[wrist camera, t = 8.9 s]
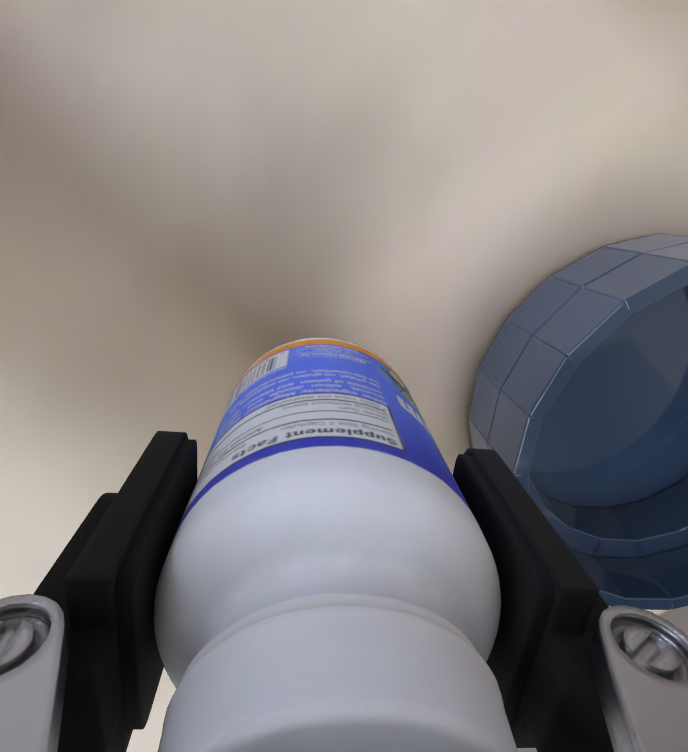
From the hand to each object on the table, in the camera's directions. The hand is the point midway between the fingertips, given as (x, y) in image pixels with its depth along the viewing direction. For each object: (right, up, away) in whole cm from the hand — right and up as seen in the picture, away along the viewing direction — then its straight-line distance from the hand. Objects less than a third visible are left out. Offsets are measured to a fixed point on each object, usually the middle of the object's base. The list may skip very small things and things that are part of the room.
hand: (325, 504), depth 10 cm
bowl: (+13, +2, +11) cm, 17 cm away
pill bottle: (0, +1, +4) cm, 4 cm away
